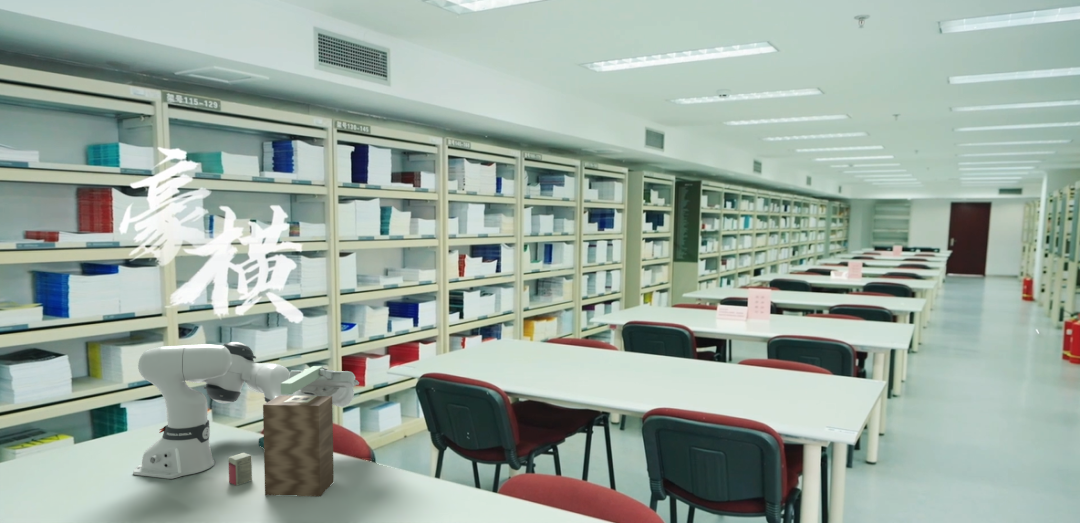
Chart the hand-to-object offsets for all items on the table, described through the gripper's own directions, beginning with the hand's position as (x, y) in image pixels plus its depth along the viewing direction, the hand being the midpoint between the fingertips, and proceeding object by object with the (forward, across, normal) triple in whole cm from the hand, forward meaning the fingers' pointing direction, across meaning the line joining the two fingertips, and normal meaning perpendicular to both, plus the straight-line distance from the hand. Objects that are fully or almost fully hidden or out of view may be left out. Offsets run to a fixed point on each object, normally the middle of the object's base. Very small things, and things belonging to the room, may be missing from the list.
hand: (313, 371), depth 193 cm
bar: (+6, 0, -6) cm, 8 cm away
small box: (-10, +20, -31) cm, 39 cm away
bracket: (-35, +23, -17) cm, 45 cm away
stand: (-6, 0, -33) cm, 34 cm away
